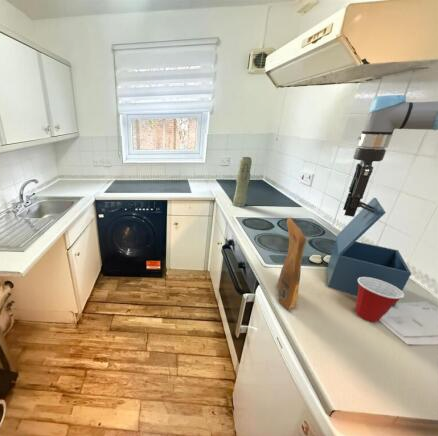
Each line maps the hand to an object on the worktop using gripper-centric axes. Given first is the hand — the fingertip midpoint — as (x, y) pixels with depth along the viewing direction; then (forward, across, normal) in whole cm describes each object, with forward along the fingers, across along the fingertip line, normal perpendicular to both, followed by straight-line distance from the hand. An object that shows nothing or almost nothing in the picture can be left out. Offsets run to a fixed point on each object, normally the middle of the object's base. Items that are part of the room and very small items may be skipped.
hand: (348, 212), depth 87 cm
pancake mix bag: (+28, +24, -13) cm, 39 cm away
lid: (+4, 0, +4) cm, 6 cm away
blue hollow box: (+28, 0, +10) cm, 29 cm away
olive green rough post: (+28, -68, -53) cm, 91 cm away
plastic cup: (+28, +19, +11) cm, 35 cm away
